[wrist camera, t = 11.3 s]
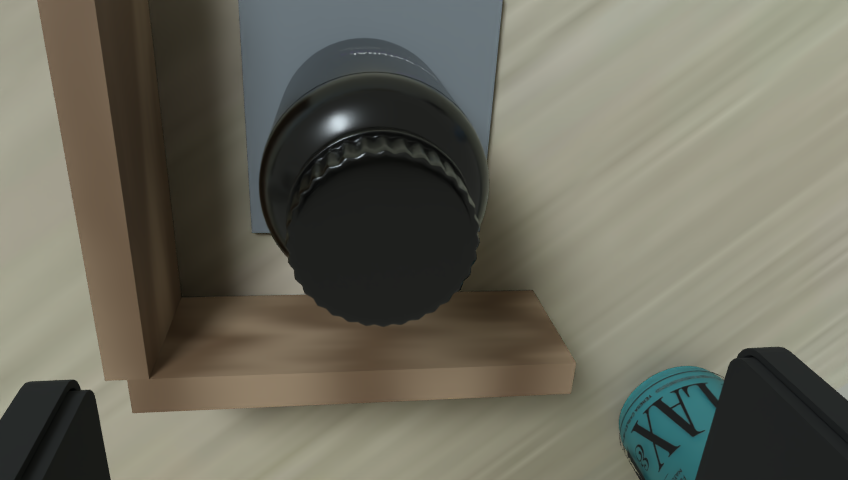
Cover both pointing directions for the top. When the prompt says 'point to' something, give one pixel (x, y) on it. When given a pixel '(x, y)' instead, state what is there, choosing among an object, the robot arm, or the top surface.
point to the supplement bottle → (373, 183)
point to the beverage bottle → (670, 422)
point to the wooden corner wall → (242, 315)
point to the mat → (363, 18)
